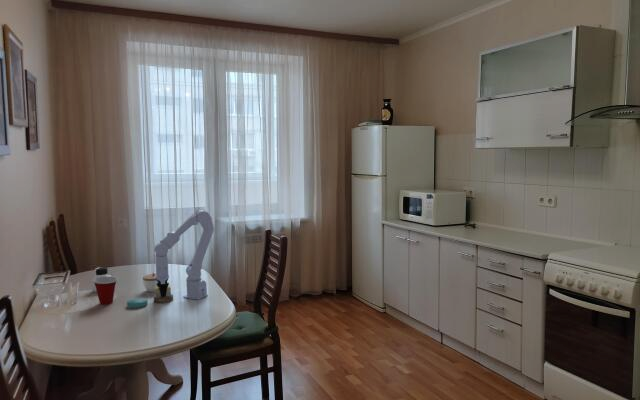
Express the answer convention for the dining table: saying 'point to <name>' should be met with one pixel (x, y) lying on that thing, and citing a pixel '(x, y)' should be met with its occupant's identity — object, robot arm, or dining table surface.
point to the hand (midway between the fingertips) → (163, 294)
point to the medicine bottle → (100, 275)
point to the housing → (166, 293)
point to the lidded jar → (150, 282)
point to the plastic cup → (105, 289)
